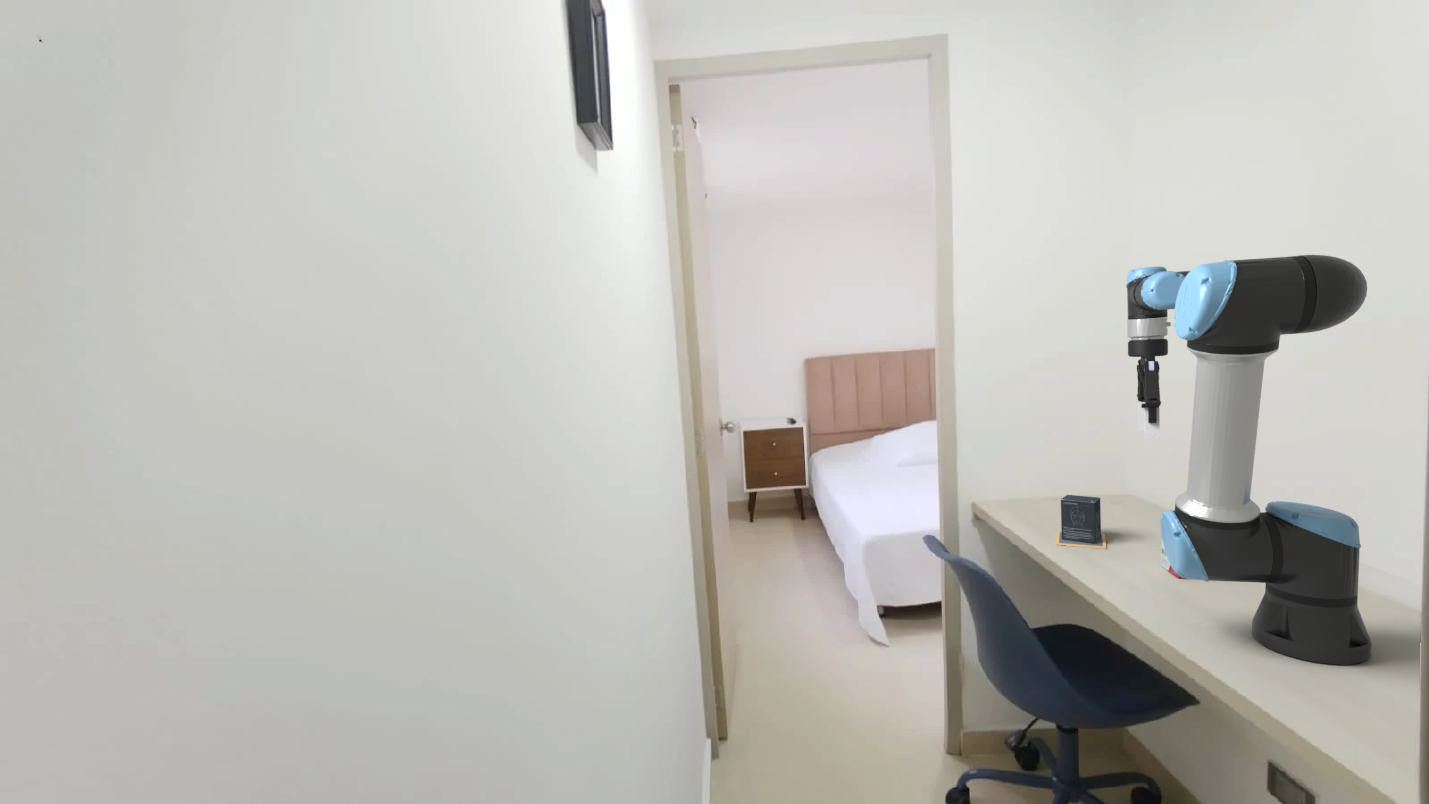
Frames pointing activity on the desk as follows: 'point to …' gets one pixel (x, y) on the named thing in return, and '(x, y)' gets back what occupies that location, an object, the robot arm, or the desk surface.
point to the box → (1081, 518)
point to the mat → (1100, 544)
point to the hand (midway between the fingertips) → (1148, 434)
